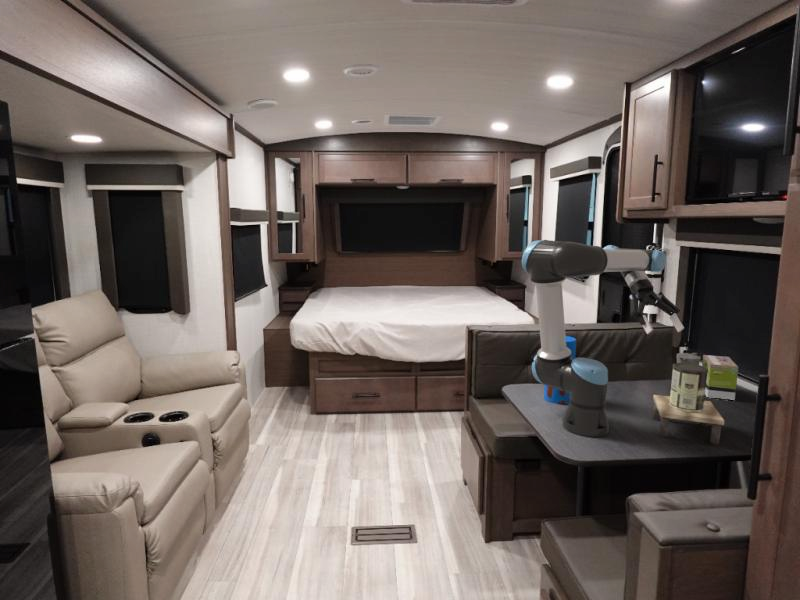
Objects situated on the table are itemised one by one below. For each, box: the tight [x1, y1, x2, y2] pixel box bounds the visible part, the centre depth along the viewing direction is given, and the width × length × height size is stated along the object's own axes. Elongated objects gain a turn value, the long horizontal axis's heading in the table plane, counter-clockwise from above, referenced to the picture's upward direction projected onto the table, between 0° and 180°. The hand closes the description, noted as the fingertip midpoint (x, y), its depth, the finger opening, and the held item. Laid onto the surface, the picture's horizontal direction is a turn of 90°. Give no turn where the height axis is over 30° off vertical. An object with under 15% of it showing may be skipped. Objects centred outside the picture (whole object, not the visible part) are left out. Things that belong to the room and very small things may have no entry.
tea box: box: [701, 354, 739, 401], centre depth 206 cm, size 15×10×15 cm
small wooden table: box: [652, 394, 725, 446], centre depth 170 cm, size 18×18×8 cm
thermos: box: [543, 335, 577, 405], centre depth 196 cm, size 11×11×25 cm
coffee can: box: [669, 362, 708, 412], centre depth 168 cm, size 10×10×14 cm
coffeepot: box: [676, 348, 702, 365], centre depth 210 cm, size 15×9×18 cm, turn 125°
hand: (665, 331), depth 179 cm, fingers open, 13 cm apart
